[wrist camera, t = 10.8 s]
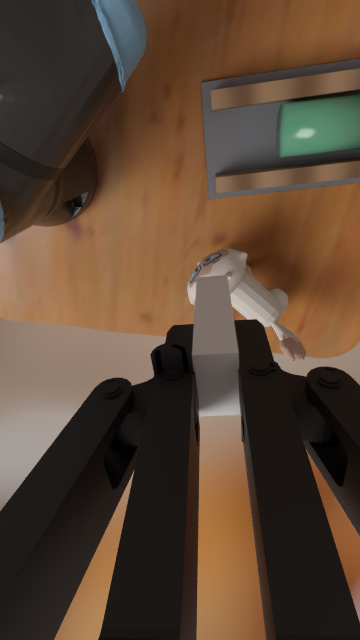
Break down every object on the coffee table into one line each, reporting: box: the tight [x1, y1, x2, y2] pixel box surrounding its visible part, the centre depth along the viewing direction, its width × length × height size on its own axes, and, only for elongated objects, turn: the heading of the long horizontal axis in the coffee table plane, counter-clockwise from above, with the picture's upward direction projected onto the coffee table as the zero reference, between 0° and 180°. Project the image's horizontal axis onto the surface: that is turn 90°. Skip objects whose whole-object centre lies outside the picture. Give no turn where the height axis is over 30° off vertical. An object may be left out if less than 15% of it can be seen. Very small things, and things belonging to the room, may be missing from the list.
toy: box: [187, 249, 306, 361], centre depth 44 cm, size 9×19×15 cm, turn 50°
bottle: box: [276, 94, 360, 157], centre depth 37 cm, size 5×5×15 cm
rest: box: [210, 68, 360, 193], centre depth 39 cm, size 20×11×4 cm, turn 97°
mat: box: [201, 59, 360, 199], centre depth 40 cm, size 22×13×1 cm, turn 97°
